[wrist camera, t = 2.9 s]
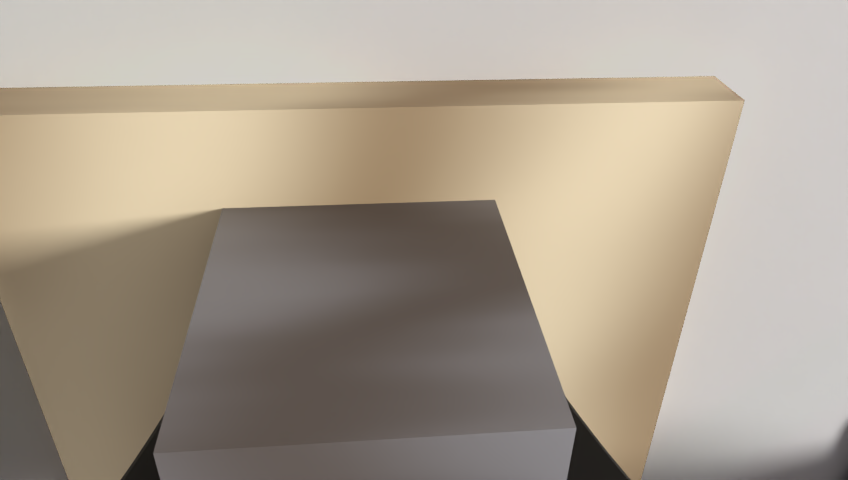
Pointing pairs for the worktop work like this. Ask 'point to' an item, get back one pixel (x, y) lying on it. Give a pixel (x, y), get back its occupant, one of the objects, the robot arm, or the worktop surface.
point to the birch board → (342, 141)
